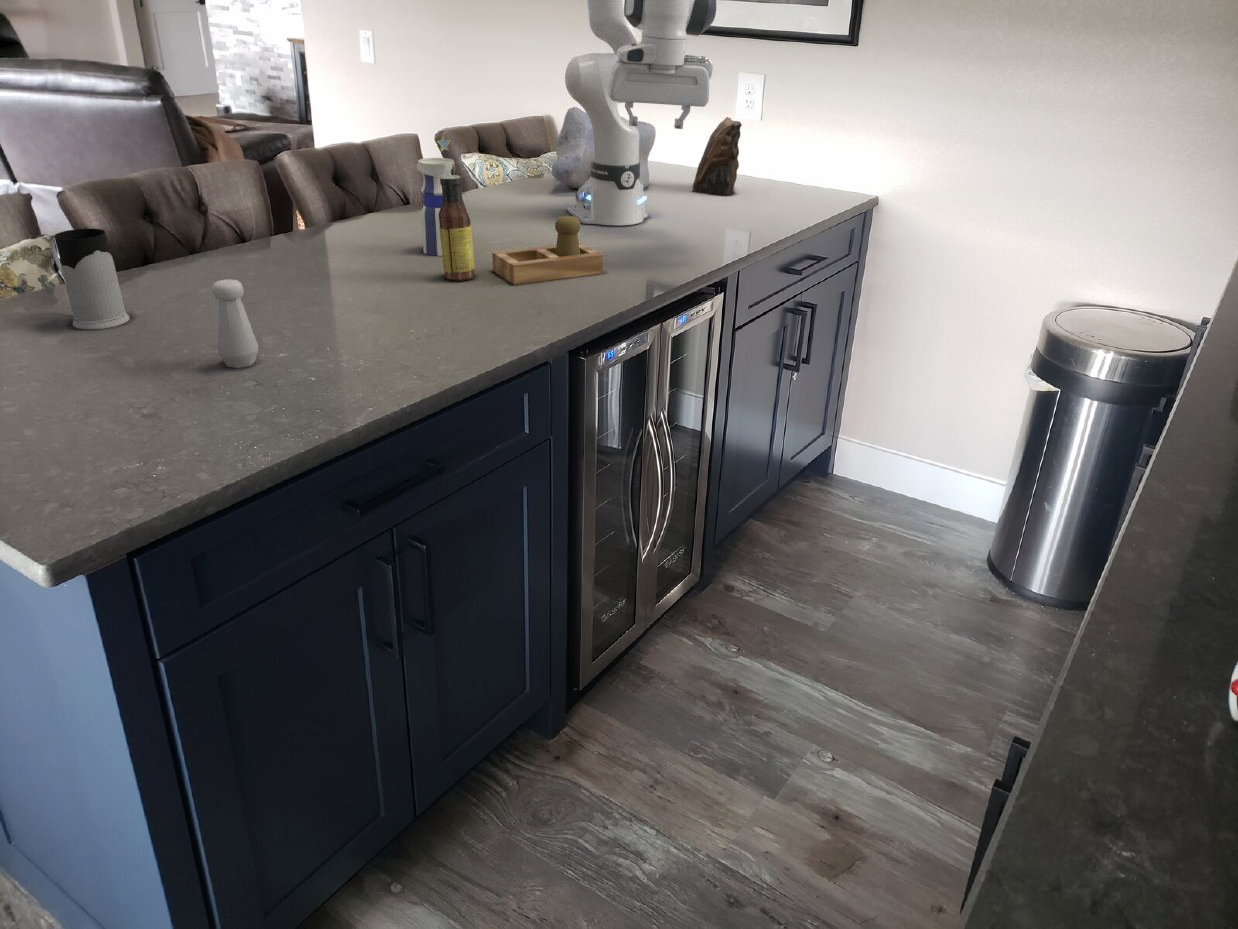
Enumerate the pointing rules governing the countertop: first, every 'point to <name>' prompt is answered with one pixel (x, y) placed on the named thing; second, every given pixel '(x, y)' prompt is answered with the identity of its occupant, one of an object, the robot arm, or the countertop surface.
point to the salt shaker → (234, 326)
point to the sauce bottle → (455, 231)
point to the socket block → (545, 264)
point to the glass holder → (89, 278)
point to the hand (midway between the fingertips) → (655, 127)
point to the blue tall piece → (433, 197)
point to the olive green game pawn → (567, 236)
